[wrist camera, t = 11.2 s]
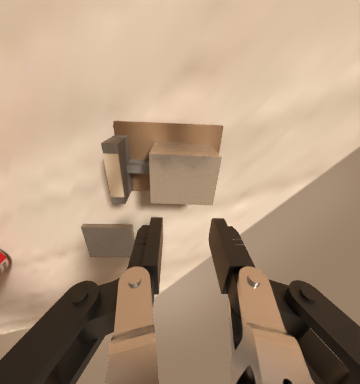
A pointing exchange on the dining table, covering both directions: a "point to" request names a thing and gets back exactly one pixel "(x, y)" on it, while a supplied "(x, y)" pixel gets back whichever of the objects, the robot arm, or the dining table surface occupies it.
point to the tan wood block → (183, 173)
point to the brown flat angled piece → (109, 239)
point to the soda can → (3, 262)
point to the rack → (145, 151)
